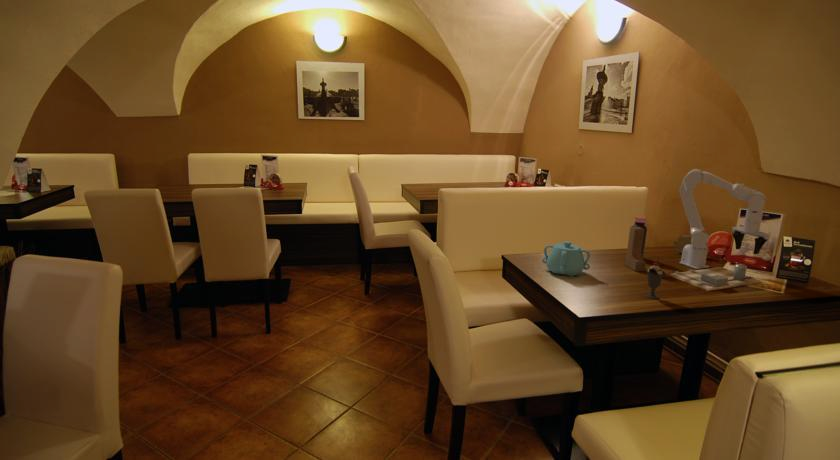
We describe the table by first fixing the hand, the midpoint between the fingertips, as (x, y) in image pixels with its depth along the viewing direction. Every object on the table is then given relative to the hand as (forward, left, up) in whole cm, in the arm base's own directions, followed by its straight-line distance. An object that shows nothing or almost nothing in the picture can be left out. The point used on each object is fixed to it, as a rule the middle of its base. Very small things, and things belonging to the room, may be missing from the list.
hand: (746, 251), depth 208 cm
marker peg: (+6, -11, -9) cm, 15 cm away
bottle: (-33, -28, -11) cm, 45 cm away
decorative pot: (-26, -74, -11) cm, 79 cm away
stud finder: (+7, -26, -9) cm, 28 cm away
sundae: (+8, -60, -11) cm, 61 cm away
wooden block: (-21, -40, -11) cm, 46 cm away
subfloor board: (+1, -18, -10) cm, 21 cm away
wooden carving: (-29, +2, -11) cm, 31 cm away
